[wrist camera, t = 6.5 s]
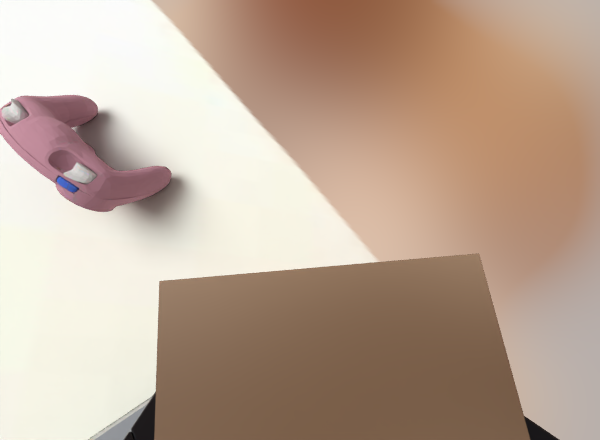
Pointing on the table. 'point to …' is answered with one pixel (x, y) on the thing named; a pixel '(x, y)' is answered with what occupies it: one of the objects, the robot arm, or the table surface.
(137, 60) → the table surface
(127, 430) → the tray
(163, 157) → the table surface
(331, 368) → the walnut handle block
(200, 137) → the table surface
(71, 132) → the video game controller
